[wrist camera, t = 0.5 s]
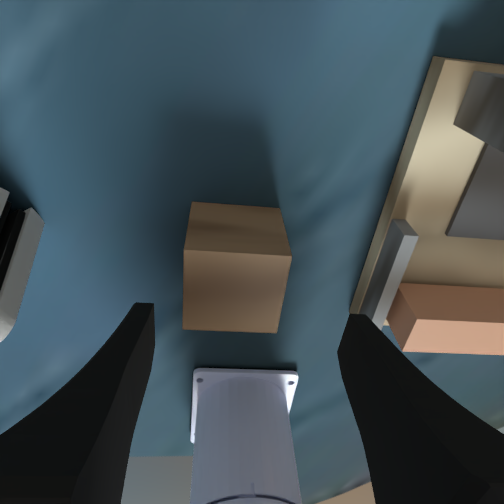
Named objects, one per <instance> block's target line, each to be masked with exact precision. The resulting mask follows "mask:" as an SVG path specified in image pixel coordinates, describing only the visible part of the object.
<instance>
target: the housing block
mask: <svg viewBox="0 0 504 504" xmlns="http://www.w3.org/2000/svg"><path fill="white" fill-rule="evenodd" d="M291 260H292V254H291V250H290V246H289V242H288V238H287V234H286V230H285V226H284V222H283V218H282V214H281V210H280V208H271V207H258V206H244V205H231V204H218V203H204V202H192V204H191V210H190V216H189V222H188V228H187V234H186V240H185V246H184V269H183V330H208V331H233V332H259V333H277V329H278V324H279V319H280V314H281V309H282V304H283V299H284V294H285V289H286V284H287V279H288V274H289V269H290V265H291Z"/></svg>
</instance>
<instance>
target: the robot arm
mask: <svg viewBox="0 0 504 504" xmlns="http://www.w3.org/2000/svg"><path fill="white" fill-rule="evenodd" d="M154 348H155V324H154V303H137V302H136V303H135V304H134V305H133V306H132V308H131V309H130V311H129V312H128V314H127V315H126V317H125V318H124V319H123V321H122V322H121V323H120V325H119V326H118V327H117V329H116V330H115V331H114V333H113V334H112V335H111V336H110V338H109V339H108V340H107V341H106V343H105V344H104V345H103V346H102V347H101V348H100V350H99V351H98V352H97V353H96V354H95V355H94V356H93V357H92V358H91V359H90V361H89V362H88V363H87V364H86V365H85V366H84V367H83V368H82V369H81V370H80V371H79V372H78V373H77V374H76V375H75V376H74V377H73V378H72V379H71V380H70V381H68V382H67V383H66V384H65V385H64V386H63V387H62V388H61V389H60V390H58V391H57V392H56V393H55V394H54V395H53V396H51V397H50V398H49V399H48V400H47V401H46V402H44V403H43V404H42V405H41V406H39V407H38V408H37V409H35V410H34V411H33V412H31V413H30V414H29V415H27V416H26V417H25V418H23V419H22V420H21V421H19V422H18V423H16V424H15V425H14V426H12V427H11V428H10V429H8V430H7V431H5V432H4V433H2V434H1V435H0V504H121V497H122V492H123V486H124V480H125V475H126V469H127V464H128V458H129V453H130V447H131V442H132V438H133V433H134V429H135V426H136V422H137V419H138V415H139V412H140V408H141V404H142V401H143V397H144V394H145V390H146V387H147V383H148V380H149V376H150V372H151V367H152V361H153V355H154ZM337 354H338V360H339V365H340V370H341V375H342V379H343V382H344V386H345V389H346V392H347V395H348V398H349V401H350V404H351V407H352V410H353V413H354V416H355V419H356V422H357V425H358V428H359V431H360V435H361V438H362V442H363V445H364V449H365V454H366V458H367V463H368V467H369V472H370V477H371V482H372V487H373V492H374V497H375V503H376V504H504V434H502V433H501V432H499V431H498V430H496V429H495V428H493V427H492V426H490V425H489V424H487V423H486V422H484V421H483V420H481V419H480V418H478V417H477V416H475V415H474V414H473V413H471V412H470V411H468V410H467V409H466V408H464V407H463V406H461V405H460V404H459V403H457V402H456V401H455V400H454V399H452V398H451V397H450V396H449V395H447V394H446V393H445V392H444V391H442V390H441V389H440V388H439V387H438V386H436V385H435V384H434V383H433V382H432V381H431V380H429V379H428V378H427V377H426V376H425V375H424V374H423V373H422V372H421V371H420V370H419V369H418V368H417V367H415V366H414V365H413V364H412V363H411V362H410V361H409V360H408V359H407V358H406V357H405V356H404V355H403V354H402V353H401V352H400V351H399V350H398V348H397V347H396V346H395V345H394V344H393V343H392V342H391V341H390V340H389V339H388V338H387V337H386V336H385V335H384V333H383V332H382V331H381V330H380V329H379V328H378V327H377V326H376V325H375V324H374V323H373V321H372V320H371V319H370V318H369V317H368V316H367V315H366V314H351V313H350V315H349V318H348V321H347V324H346V327H345V330H344V333H343V336H342V339H341V342H340V345H339V348H338V351H337ZM297 382H298V373H297V372H296V371H286V370H254V369H221V368H197V369H195V370H194V372H193V393H192V417H191V442H192V443H194V453H193V467H192V481H191V495H190V504H302V501H301V495H300V488H299V481H298V474H297V467H296V461H295V454H294V447H293V440H292V434H291V427H290V420H289V412H290V408H291V404H292V401H293V397H294V393H295V389H296V386H297Z"/></svg>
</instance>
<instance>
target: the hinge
mask: <svg viewBox="0 0 504 504" xmlns="http://www.w3.org/2000/svg"><path fill="white" fill-rule="evenodd" d="M9 193H10V192H8V191H6V190H4V189H3V188H1V187H0V342H1V341H2V340H3V339H5V337H6V336H7V335H8V334H9V333H10V331H11V329H12V328H13V326H14V324H15V322H16V319H17V315H18V312H19V308H20V305H21V302H22V298H23V295H24V291H25V288H26V285H27V281H28V278H29V275H30V271H31V268H32V264H33V261H34V258H35V254H36V251H37V247H38V244H39V241H40V237H41V234H42V231H43V227H44V224H45V223H44V221H43V220H42V218H41V217H40V215H39V214H38V213H37V212H36V211H35V210H34V209H33V208H32V207H31V208H29V209H27V210H25V211H22V210H21V209H18V210H16V211H14V212H12V213H11V214H9V215H8V212H9V209H10V207H11V204H12V203H10V202H9V201H7V198H8V195H9Z"/></svg>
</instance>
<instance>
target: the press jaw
mask: <svg viewBox="0 0 504 504" xmlns="http://www.w3.org/2000/svg"><path fill="white" fill-rule="evenodd" d="M386 320H387V322H388V324H389V326H390V328H391V330H392V332H393V334H394V336H395V338H396V340H397V342H398V344H399V346H400V348H401V350H402V351H407V352H434V353H461V354H487V355H504V289H498V288H481V287H463V286H446V285H428V284H410V283H400V285H399V287H398V290H397V292H396V295H395V297H394V299H393V302H392V304H391V307H390V309H389V312H388V314H387V317H386Z"/></svg>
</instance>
